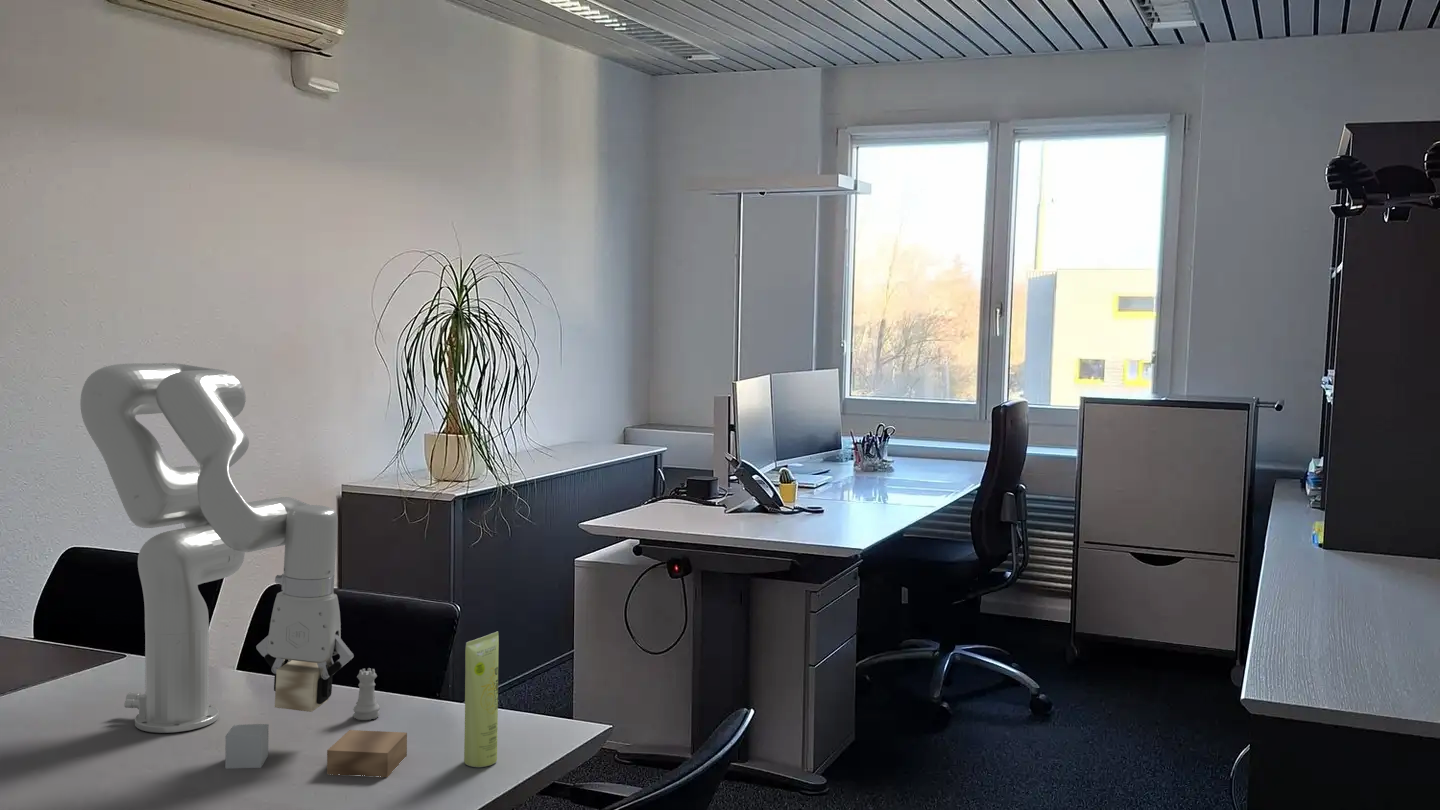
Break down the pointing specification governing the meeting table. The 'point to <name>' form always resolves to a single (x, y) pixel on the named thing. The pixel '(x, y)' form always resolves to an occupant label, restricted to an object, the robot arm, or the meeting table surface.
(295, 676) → the birch block
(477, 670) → the tube
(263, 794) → the meeting table surface
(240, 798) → the meeting table surface
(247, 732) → the grey block
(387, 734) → the walnut block
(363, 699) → the rook chess piece
